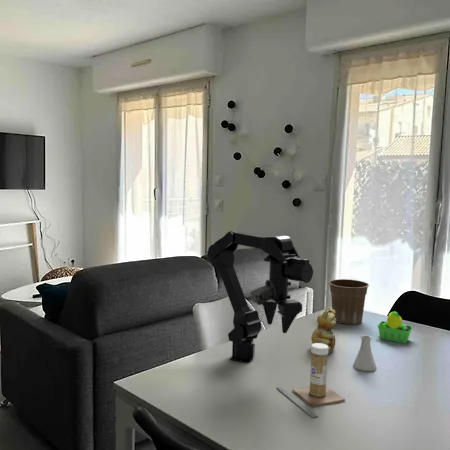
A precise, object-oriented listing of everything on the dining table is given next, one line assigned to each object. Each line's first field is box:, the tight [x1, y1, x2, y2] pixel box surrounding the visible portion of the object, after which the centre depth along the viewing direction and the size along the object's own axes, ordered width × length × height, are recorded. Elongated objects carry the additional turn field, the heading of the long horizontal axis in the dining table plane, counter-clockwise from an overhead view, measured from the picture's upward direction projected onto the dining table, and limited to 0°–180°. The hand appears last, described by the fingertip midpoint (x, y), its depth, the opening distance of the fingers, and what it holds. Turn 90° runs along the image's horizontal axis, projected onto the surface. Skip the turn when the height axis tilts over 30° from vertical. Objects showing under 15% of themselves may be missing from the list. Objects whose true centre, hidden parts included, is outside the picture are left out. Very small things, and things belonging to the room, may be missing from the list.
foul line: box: [276, 386, 319, 419], centre depth 126 cm, size 18×2×1 cm, turn 23°
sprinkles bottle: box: [309, 343, 329, 397], centre depth 129 cm, size 5×5×14 cm
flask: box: [352, 334, 377, 372], centre depth 150 cm, size 7×7×10 cm
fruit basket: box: [377, 311, 413, 344], centre depth 179 cm, size 11×9×11 cm
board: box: [292, 385, 346, 408], centre depth 129 cm, size 10×10×1 cm
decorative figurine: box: [310, 306, 337, 354], centre depth 165 cm, size 10×8×15 cm
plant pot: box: [328, 278, 370, 325], centre depth 202 cm, size 16×16×16 cm
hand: (276, 328), depth 146 cm, fingers open, 9 cm apart
